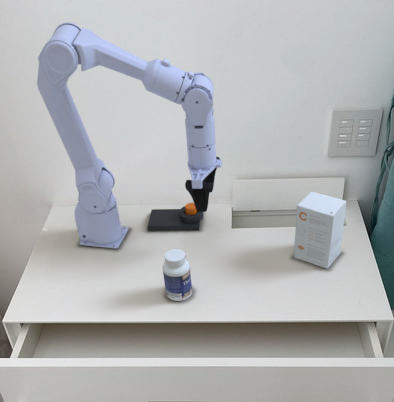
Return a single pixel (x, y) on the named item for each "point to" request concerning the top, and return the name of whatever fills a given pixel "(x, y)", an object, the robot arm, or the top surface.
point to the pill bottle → (177, 275)
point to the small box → (319, 229)
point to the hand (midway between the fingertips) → (204, 200)
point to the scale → (174, 220)
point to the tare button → (190, 209)
